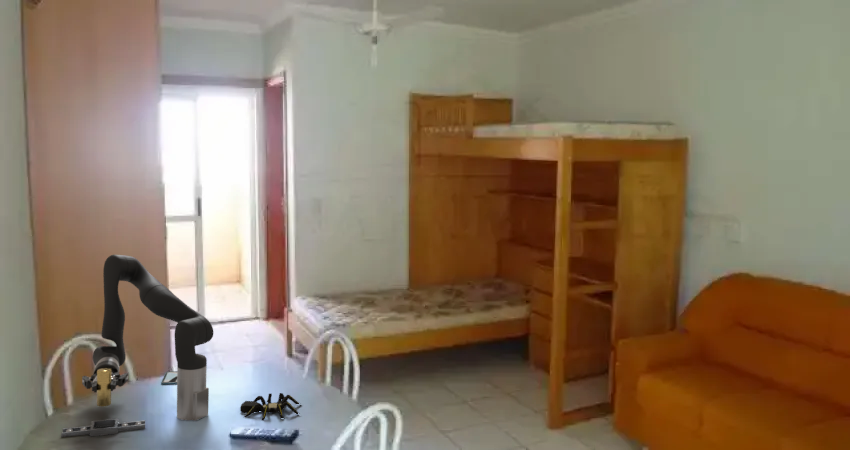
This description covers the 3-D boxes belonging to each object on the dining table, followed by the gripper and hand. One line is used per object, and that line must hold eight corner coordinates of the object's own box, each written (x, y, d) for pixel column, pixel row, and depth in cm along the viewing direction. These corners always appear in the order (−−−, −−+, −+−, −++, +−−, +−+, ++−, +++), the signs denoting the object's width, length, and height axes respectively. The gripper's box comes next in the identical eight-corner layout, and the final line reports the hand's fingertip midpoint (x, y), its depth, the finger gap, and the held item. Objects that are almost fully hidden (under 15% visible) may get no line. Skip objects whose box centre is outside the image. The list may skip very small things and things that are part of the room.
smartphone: (185, 371, 268) (181, 382, 254) (185, 373, 268) (181, 385, 254) (166, 371, 266) (160, 383, 252) (165, 373, 267) (160, 385, 252)
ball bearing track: (145, 421, 218) (145, 415, 217) (145, 430, 211) (145, 424, 210) (63, 429, 208) (63, 423, 208) (60, 439, 201) (60, 433, 201)
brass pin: (113, 403, 210) (114, 369, 209) (103, 407, 206) (103, 373, 205) (104, 400, 211) (104, 367, 210) (94, 405, 208) (94, 370, 207)
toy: (301, 421, 225) (301, 407, 224) (237, 422, 222) (237, 407, 221) (303, 402, 242) (304, 389, 241) (244, 403, 239) (244, 389, 239)
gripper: (82, 361, 218) (77, 378, 202) (130, 358, 224) (128, 375, 208) (82, 383, 219) (77, 402, 203) (130, 380, 224) (128, 398, 209)
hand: (103, 388), depth 206 cm, fingers closed on brass pin, 4 cm apart
